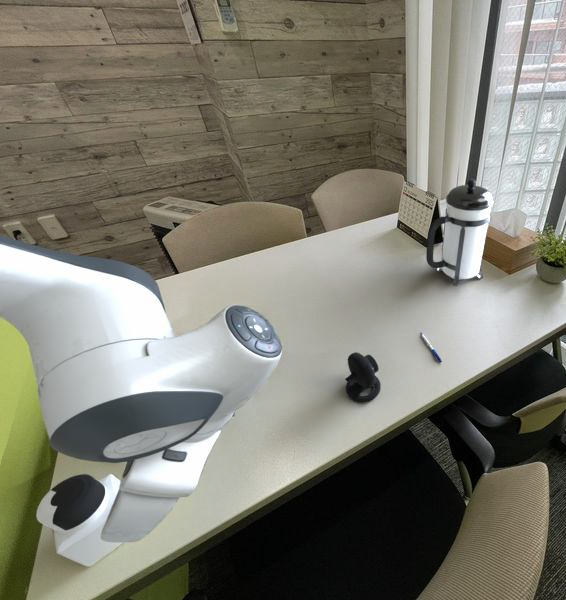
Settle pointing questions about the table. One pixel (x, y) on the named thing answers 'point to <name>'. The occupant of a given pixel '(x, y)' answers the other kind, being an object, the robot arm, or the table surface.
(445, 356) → the table surface
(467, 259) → the coffee press
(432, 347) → the ballpoint pen
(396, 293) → the table surface
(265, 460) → the table surface
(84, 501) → the medicine bottle
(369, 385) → the webcam
